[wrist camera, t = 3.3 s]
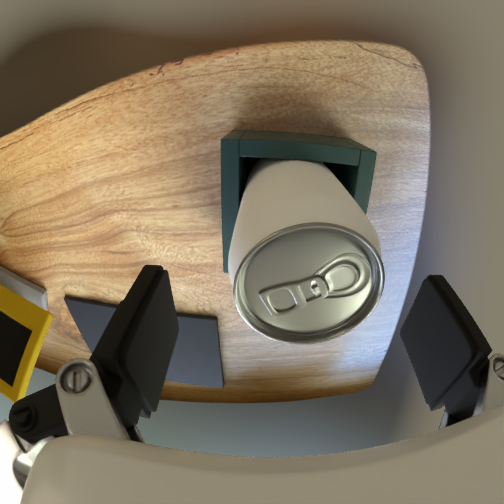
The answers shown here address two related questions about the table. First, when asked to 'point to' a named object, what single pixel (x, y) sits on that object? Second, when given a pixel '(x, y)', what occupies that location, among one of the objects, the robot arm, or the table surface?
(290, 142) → the box
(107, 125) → the table surface
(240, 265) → the can
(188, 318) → the mat
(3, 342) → the yellow framed monitor
